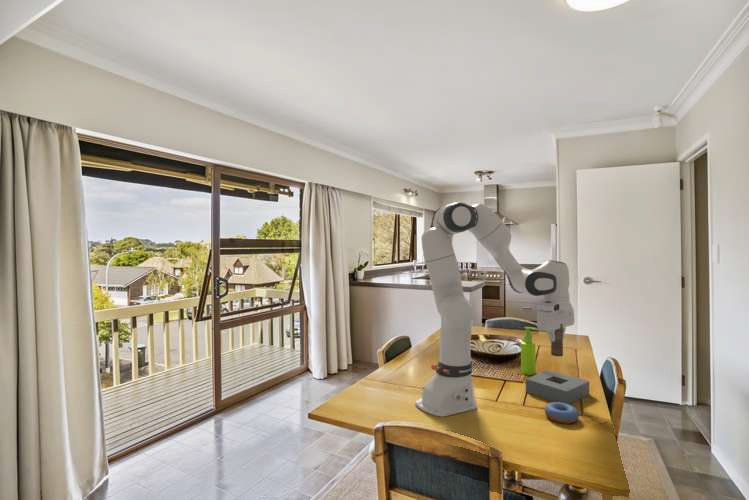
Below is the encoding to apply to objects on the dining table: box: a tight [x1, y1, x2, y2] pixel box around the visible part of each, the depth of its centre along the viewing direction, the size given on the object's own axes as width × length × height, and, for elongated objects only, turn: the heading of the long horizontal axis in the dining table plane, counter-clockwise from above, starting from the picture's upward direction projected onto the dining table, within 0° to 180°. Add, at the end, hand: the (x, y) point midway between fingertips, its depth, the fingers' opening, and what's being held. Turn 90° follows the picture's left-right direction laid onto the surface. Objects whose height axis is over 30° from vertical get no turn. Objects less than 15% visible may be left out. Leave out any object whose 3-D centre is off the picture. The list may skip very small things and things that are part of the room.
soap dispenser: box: [520, 326, 539, 376], centre depth 167 cm, size 6×7×20 cm
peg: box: [550, 324, 564, 357], centre depth 145 cm, size 4×4×12 cm
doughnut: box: [544, 401, 580, 425], centre depth 125 cm, size 10×10×5 cm
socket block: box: [525, 369, 590, 405], centre depth 145 cm, size 16×16×5 cm
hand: (556, 340), depth 145 cm, fingers closed on peg, 4 cm apart
